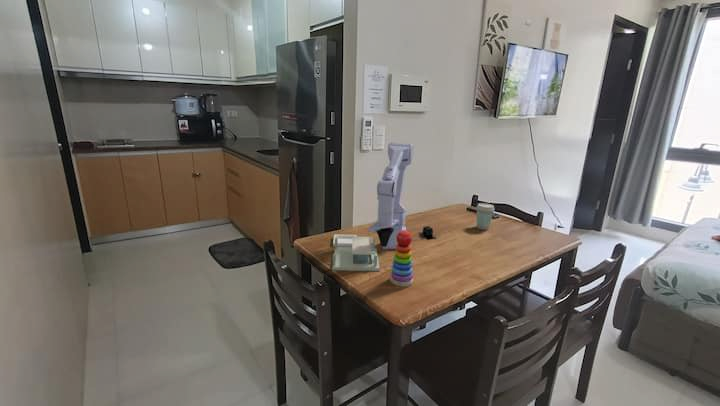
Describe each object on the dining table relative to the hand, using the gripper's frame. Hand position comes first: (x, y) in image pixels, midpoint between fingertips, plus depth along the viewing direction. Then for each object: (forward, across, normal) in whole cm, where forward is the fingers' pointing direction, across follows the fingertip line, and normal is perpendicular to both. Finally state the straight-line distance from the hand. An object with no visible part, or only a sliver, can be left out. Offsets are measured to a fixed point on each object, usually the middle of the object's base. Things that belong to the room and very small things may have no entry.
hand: (383, 245), depth 129 cm
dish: (+6, 0, -23) cm, 24 cm away
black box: (+7, -36, -5) cm, 37 cm away
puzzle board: (+6, +8, -7) cm, 12 cm away
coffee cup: (+6, -67, +6) cm, 68 cm away
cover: (0, +6, -5) cm, 8 cm away
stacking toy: (+7, +7, +15) cm, 18 cm away
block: (+6, +6, -5) cm, 10 cm away
